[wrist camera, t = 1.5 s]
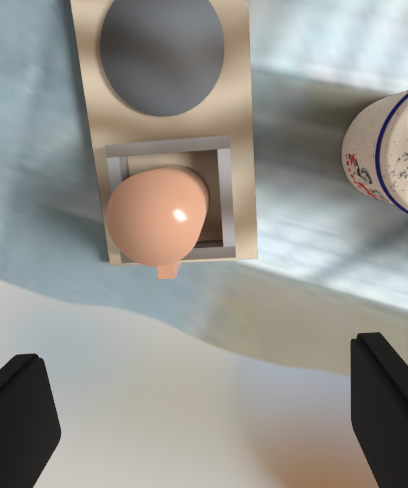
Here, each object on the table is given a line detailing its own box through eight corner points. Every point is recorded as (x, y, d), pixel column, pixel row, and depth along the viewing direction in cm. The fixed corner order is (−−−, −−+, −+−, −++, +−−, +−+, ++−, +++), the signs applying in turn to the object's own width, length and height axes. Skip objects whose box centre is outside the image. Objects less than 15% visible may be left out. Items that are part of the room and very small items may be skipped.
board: (73, -18, 29) (51, -41, 25) (245, -39, 28) (247, -67, 24) (114, 262, 35) (101, 275, 31) (256, 255, 34) (260, 267, 30)
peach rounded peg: (139, 167, 31) (99, 175, 22) (207, 161, 31) (197, 168, 21) (149, 249, 33) (116, 291, 23) (213, 246, 33) (206, 287, 23)
